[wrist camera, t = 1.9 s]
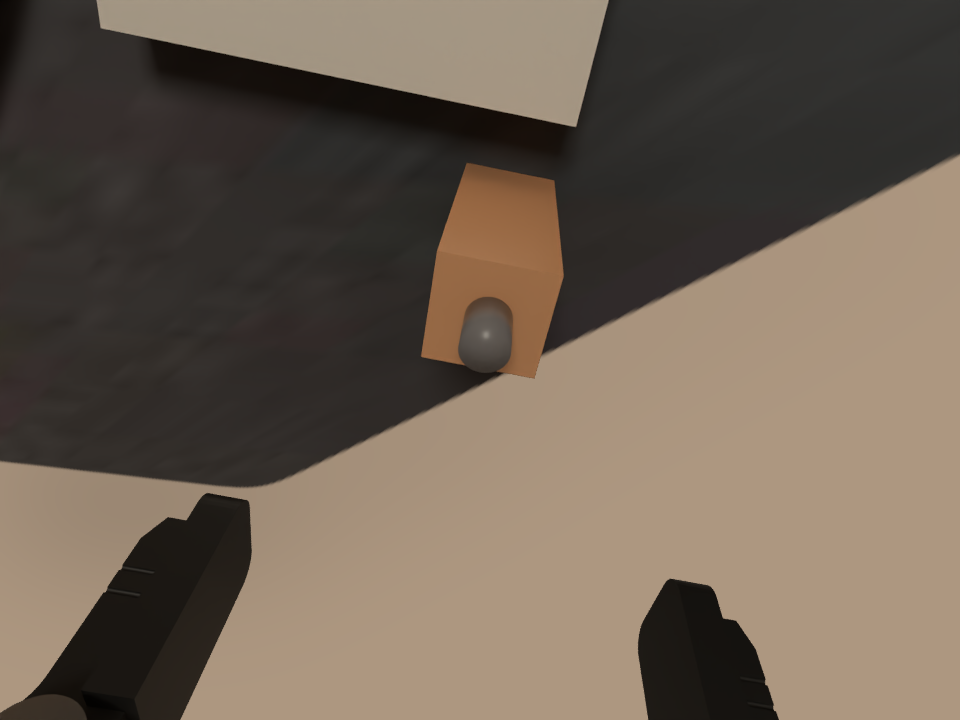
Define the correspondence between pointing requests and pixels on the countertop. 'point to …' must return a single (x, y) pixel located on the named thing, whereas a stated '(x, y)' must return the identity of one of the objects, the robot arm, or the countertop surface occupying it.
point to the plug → (496, 273)
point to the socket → (399, 43)
